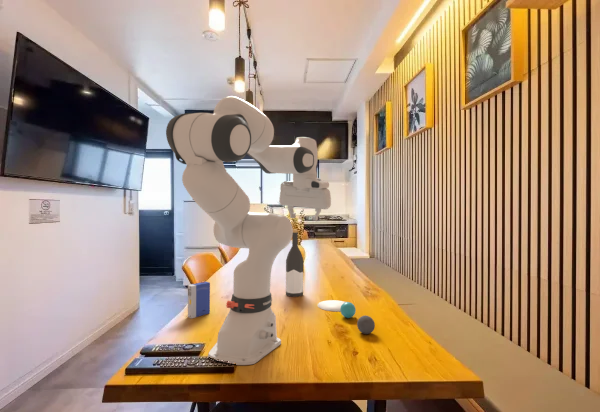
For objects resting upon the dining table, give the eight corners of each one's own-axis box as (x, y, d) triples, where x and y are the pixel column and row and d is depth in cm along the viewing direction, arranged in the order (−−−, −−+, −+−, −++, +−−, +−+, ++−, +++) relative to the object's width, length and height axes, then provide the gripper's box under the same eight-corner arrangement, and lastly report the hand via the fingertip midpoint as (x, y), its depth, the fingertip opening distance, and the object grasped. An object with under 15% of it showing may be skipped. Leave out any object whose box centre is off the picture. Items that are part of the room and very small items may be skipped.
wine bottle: (303, 292, 154) (304, 228, 153) (302, 297, 146) (303, 230, 145) (286, 291, 154) (287, 228, 154) (284, 296, 146) (285, 229, 146)
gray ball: (374, 337, 102) (374, 319, 102) (356, 335, 104) (356, 318, 104) (375, 331, 108) (375, 314, 108) (357, 329, 109) (358, 312, 109)
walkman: (205, 311, 125) (205, 280, 125) (209, 313, 123) (210, 281, 123) (186, 316, 119) (187, 284, 119) (190, 318, 118) (191, 285, 117)
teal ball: (354, 320, 117) (354, 305, 117) (339, 319, 118) (339, 303, 118) (356, 315, 122) (356, 300, 122) (341, 314, 124) (341, 299, 124)
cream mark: (349, 313, 125) (349, 312, 125) (314, 309, 129) (314, 308, 129) (353, 302, 139) (353, 301, 139) (321, 299, 143) (321, 299, 143)
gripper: (276, 181, 123) (275, 217, 125) (326, 184, 113) (324, 223, 115) (285, 180, 128) (284, 215, 130) (333, 183, 119) (331, 220, 121)
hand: (303, 219), depth 123 cm, fingers open, 8 cm apart
